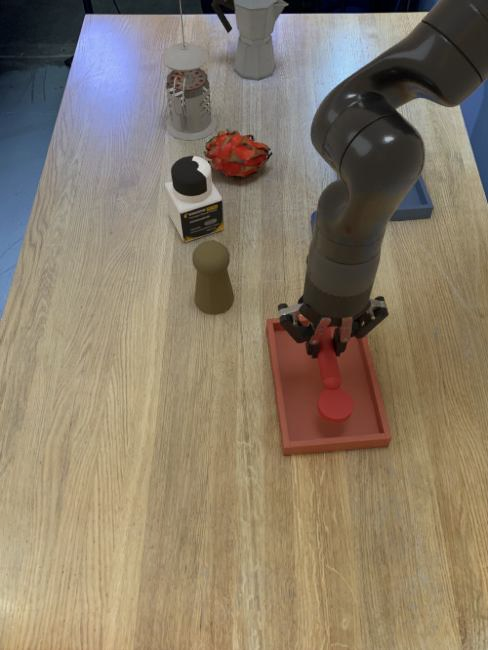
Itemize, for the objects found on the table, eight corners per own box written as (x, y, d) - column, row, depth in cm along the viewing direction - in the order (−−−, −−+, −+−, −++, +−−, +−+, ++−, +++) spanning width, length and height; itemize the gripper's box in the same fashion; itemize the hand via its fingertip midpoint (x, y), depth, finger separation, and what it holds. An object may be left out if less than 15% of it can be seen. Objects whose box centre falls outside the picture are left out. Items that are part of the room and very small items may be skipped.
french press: (221, 110, 116) (215, -25, 96) (209, 149, 110) (200, 14, 89) (172, 105, 117) (156, -30, 97) (157, 143, 111) (136, 8, 90)
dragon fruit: (200, 174, 108) (265, 181, 110) (200, 179, 100) (271, 187, 102) (204, 125, 106) (271, 133, 107) (205, 126, 98) (278, 135, 99)
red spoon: (300, 316, 83) (302, 305, 81) (332, 313, 83) (334, 303, 81) (320, 424, 73) (322, 416, 71) (355, 421, 74) (358, 413, 72)
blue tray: (402, 141, 111) (405, 130, 109) (430, 218, 100) (434, 207, 98) (329, 146, 110) (330, 135, 108) (349, 224, 99) (351, 213, 97)
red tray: (358, 321, 88) (360, 311, 86) (388, 446, 77) (391, 438, 75) (266, 328, 87) (266, 318, 85) (283, 455, 76) (284, 447, 74)
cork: (206, 277, 93) (201, 228, 84) (241, 291, 91) (240, 242, 82) (187, 305, 90) (180, 257, 81) (222, 320, 88) (219, 273, 79)
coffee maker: (288, 59, 126) (294, -31, 111) (280, 84, 121) (285, -7, 106) (220, 51, 128) (216, -39, 113) (209, 74, 123) (203, -16, 108)
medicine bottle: (183, 243, 97) (176, 188, 87) (168, 214, 101) (159, 158, 91) (224, 230, 98) (221, 174, 89) (208, 202, 102) (203, 145, 92)
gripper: (282, 299, 62) (275, 380, 77) (413, 289, 63) (382, 372, 77) (273, 245, 67) (268, 332, 81) (396, 237, 67) (370, 324, 82)
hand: (324, 351), depth 79 cm, fingers closed on red spoon, 2 cm apart
